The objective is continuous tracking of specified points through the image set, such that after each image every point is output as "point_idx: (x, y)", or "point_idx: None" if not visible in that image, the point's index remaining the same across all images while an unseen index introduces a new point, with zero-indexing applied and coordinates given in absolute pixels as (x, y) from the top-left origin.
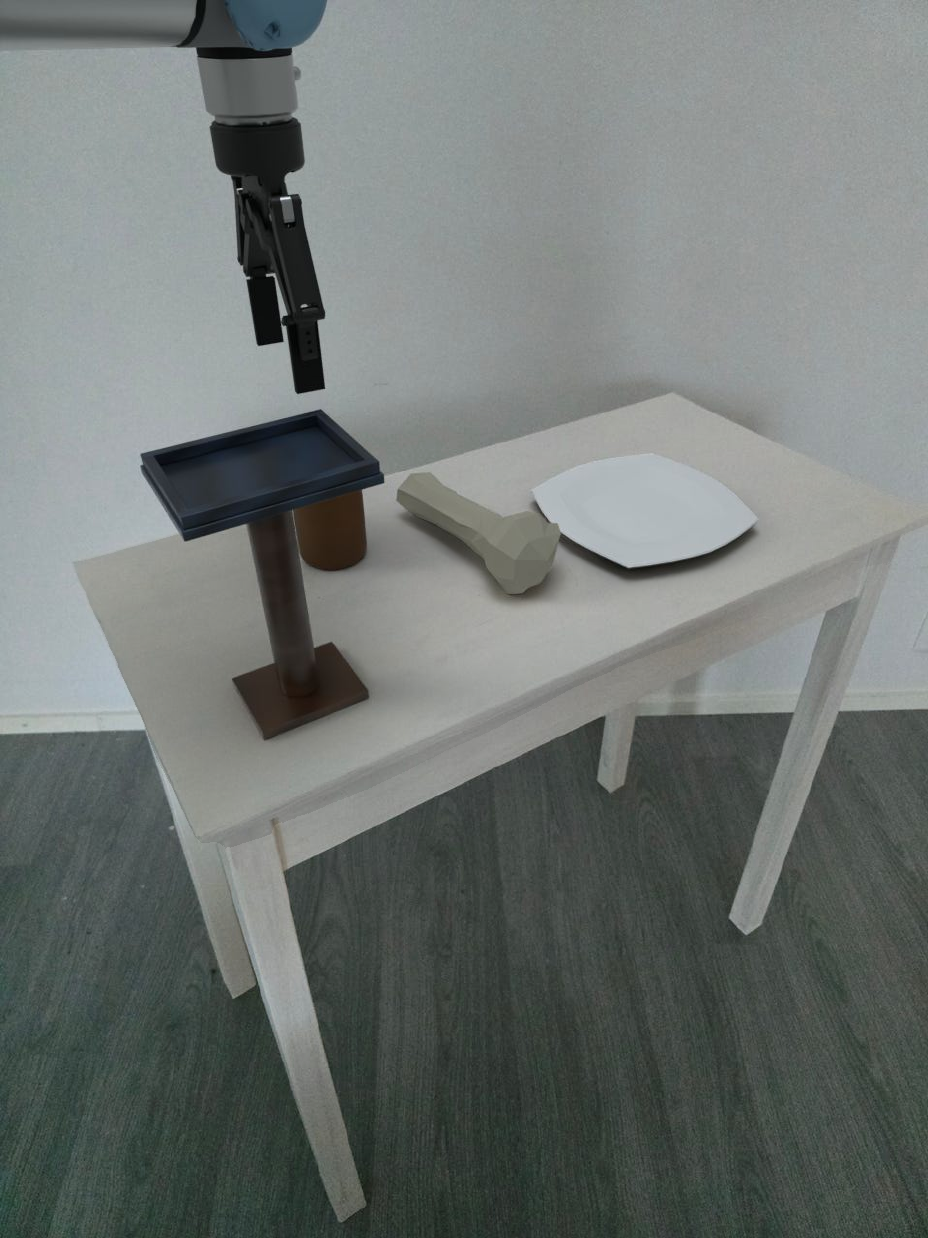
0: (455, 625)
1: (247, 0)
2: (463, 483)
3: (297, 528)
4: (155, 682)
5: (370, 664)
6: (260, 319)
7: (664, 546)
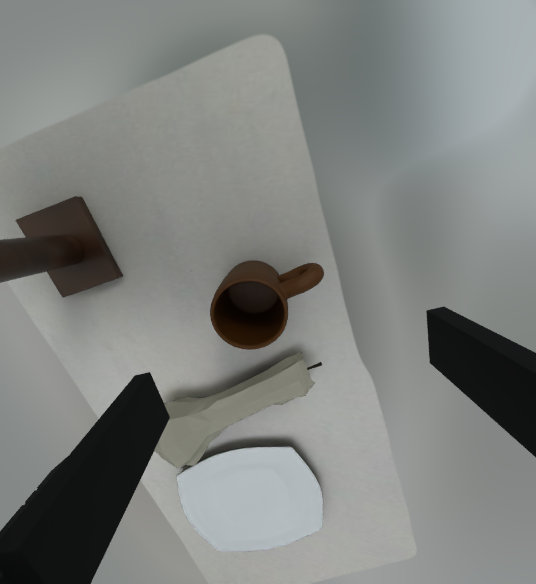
0: (144, 360)
1: None
2: (336, 400)
3: (239, 267)
4: (88, 127)
5: (104, 300)
6: (475, 354)
7: (196, 500)
